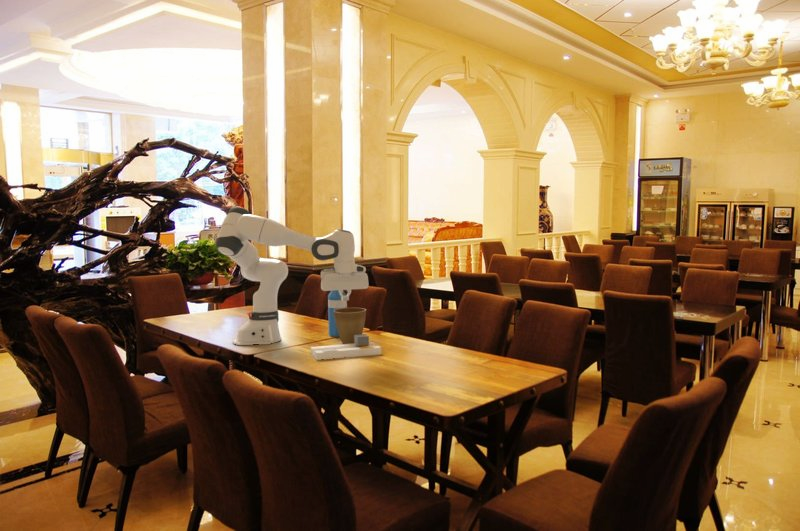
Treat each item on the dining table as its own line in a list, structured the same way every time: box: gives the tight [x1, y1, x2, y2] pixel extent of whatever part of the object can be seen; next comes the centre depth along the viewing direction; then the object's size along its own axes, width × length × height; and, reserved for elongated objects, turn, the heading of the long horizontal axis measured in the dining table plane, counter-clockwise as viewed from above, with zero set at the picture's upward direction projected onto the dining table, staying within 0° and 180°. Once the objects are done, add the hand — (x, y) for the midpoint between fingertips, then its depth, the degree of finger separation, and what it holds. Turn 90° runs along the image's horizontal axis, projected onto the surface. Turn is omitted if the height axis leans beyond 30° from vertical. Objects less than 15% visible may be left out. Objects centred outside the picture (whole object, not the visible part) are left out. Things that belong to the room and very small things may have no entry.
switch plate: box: [310, 341, 382, 361], centre depth 266 cm, size 28×12×3 cm, turn 110°
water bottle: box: [327, 290, 348, 338], centre depth 305 cm, size 9×9×25 cm
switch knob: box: [354, 333, 370, 347], centre depth 268 cm, size 5×5×6 cm
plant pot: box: [334, 307, 367, 344], centre depth 284 cm, size 15×15×16 cm
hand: (345, 300), depth 264 cm, fingers closed
